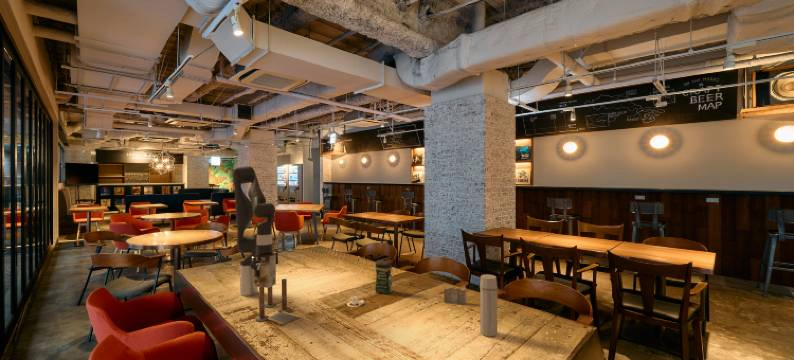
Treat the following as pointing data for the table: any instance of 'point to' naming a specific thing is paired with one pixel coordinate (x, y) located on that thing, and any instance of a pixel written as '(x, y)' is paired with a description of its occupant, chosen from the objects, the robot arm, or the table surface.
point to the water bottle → (488, 305)
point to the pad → (283, 318)
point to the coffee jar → (383, 277)
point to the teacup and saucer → (355, 301)
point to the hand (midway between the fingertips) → (265, 275)
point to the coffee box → (266, 271)
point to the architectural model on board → (455, 295)
